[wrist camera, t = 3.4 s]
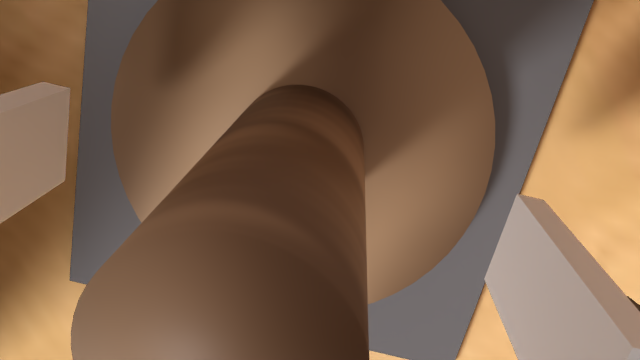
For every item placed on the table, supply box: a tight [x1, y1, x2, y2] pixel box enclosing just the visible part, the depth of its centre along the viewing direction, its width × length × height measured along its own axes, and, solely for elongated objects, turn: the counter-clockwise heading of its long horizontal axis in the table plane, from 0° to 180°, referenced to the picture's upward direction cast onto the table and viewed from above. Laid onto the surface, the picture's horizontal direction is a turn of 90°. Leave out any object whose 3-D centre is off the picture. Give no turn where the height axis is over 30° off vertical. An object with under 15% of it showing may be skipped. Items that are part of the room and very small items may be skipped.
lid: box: [71, 0, 495, 360], centre depth 13 cm, size 13×13×12 cm
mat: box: [70, 0, 594, 360], centre depth 19 cm, size 16×16×1 cm
